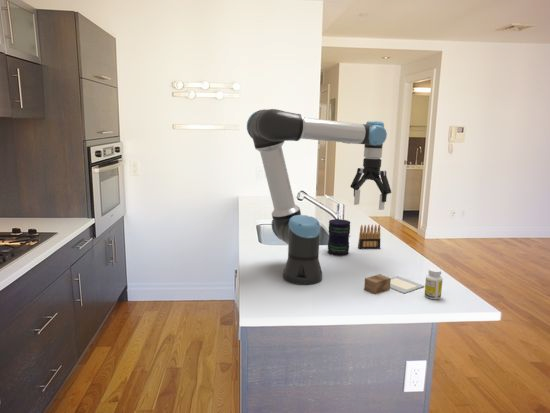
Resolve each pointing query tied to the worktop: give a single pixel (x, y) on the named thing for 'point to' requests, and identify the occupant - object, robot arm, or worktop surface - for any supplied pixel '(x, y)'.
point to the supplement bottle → (433, 284)
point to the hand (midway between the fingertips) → (368, 207)
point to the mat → (404, 285)
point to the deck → (377, 284)
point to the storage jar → (338, 237)
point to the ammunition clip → (369, 238)
